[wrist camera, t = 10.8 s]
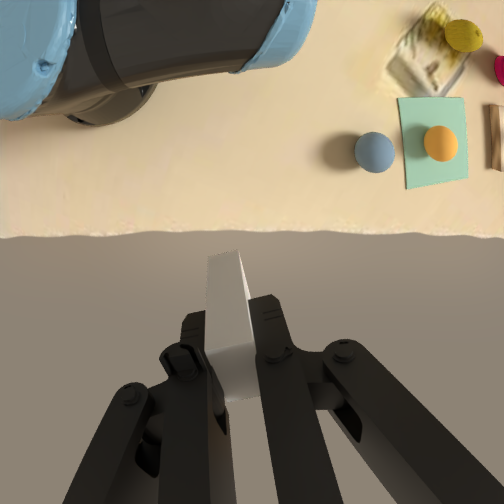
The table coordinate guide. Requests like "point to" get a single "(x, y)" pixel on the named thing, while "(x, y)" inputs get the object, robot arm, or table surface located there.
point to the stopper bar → (497, 136)
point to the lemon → (463, 35)
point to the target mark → (414, 129)
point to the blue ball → (374, 152)
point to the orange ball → (440, 143)
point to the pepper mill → (500, 69)
